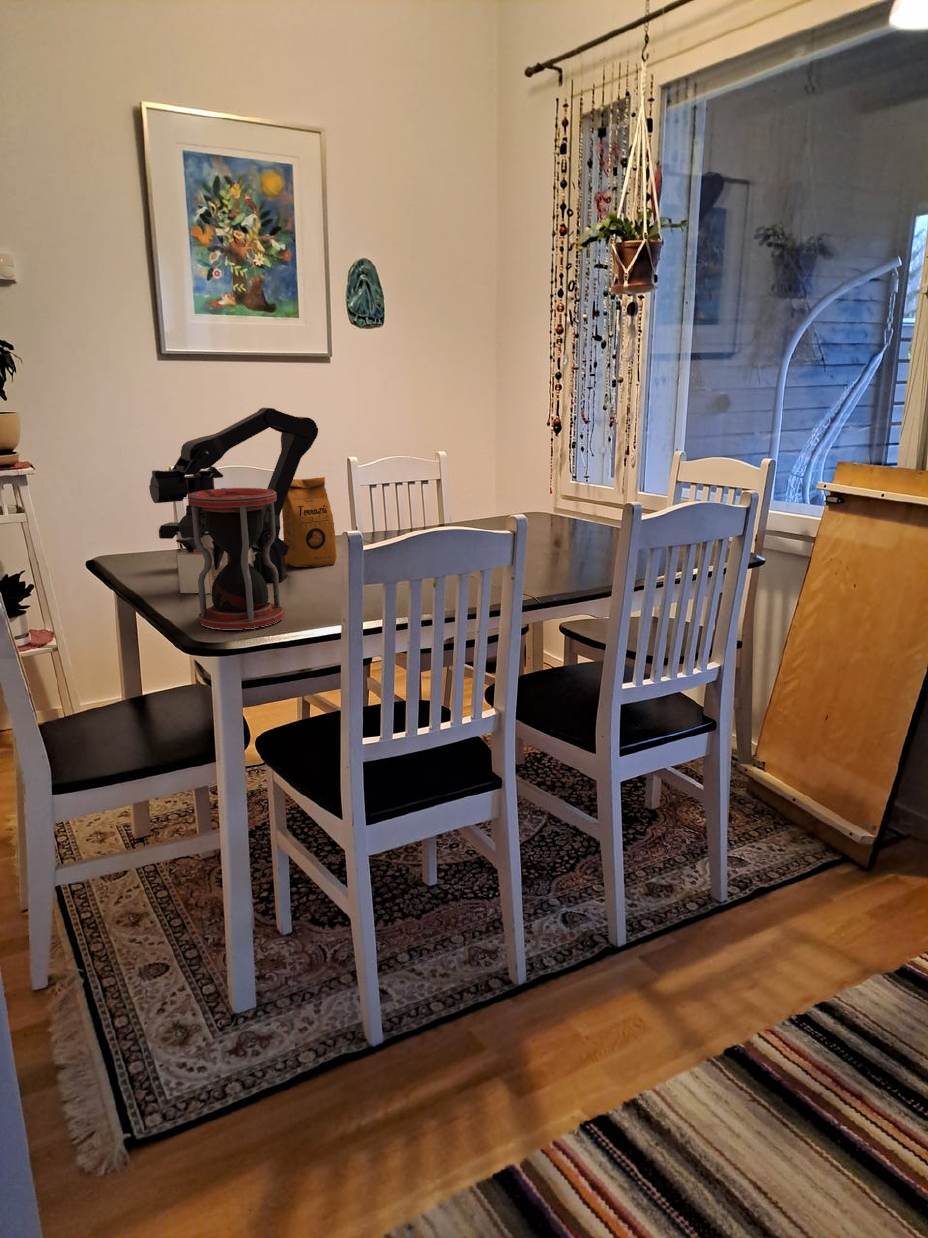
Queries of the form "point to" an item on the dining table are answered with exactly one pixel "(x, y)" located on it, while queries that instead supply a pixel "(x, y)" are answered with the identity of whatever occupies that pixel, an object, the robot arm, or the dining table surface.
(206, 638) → the dining table surface
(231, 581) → the hourglass
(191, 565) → the tile
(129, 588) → the dining table surface
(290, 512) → the coffee package
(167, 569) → the dining table surface
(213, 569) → the pusher
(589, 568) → the dining table surface
